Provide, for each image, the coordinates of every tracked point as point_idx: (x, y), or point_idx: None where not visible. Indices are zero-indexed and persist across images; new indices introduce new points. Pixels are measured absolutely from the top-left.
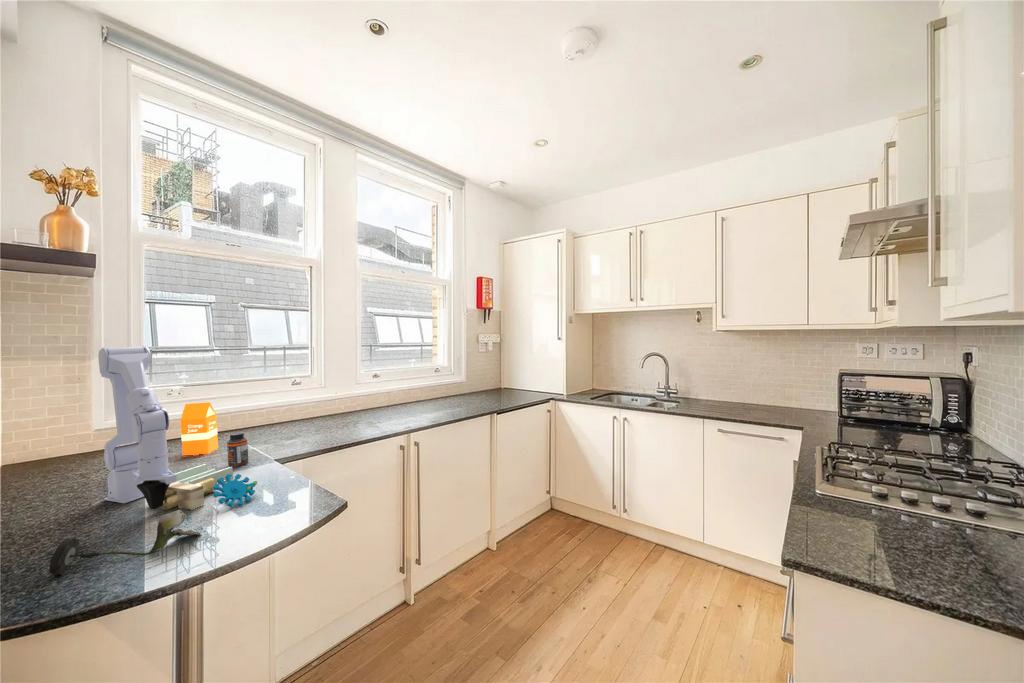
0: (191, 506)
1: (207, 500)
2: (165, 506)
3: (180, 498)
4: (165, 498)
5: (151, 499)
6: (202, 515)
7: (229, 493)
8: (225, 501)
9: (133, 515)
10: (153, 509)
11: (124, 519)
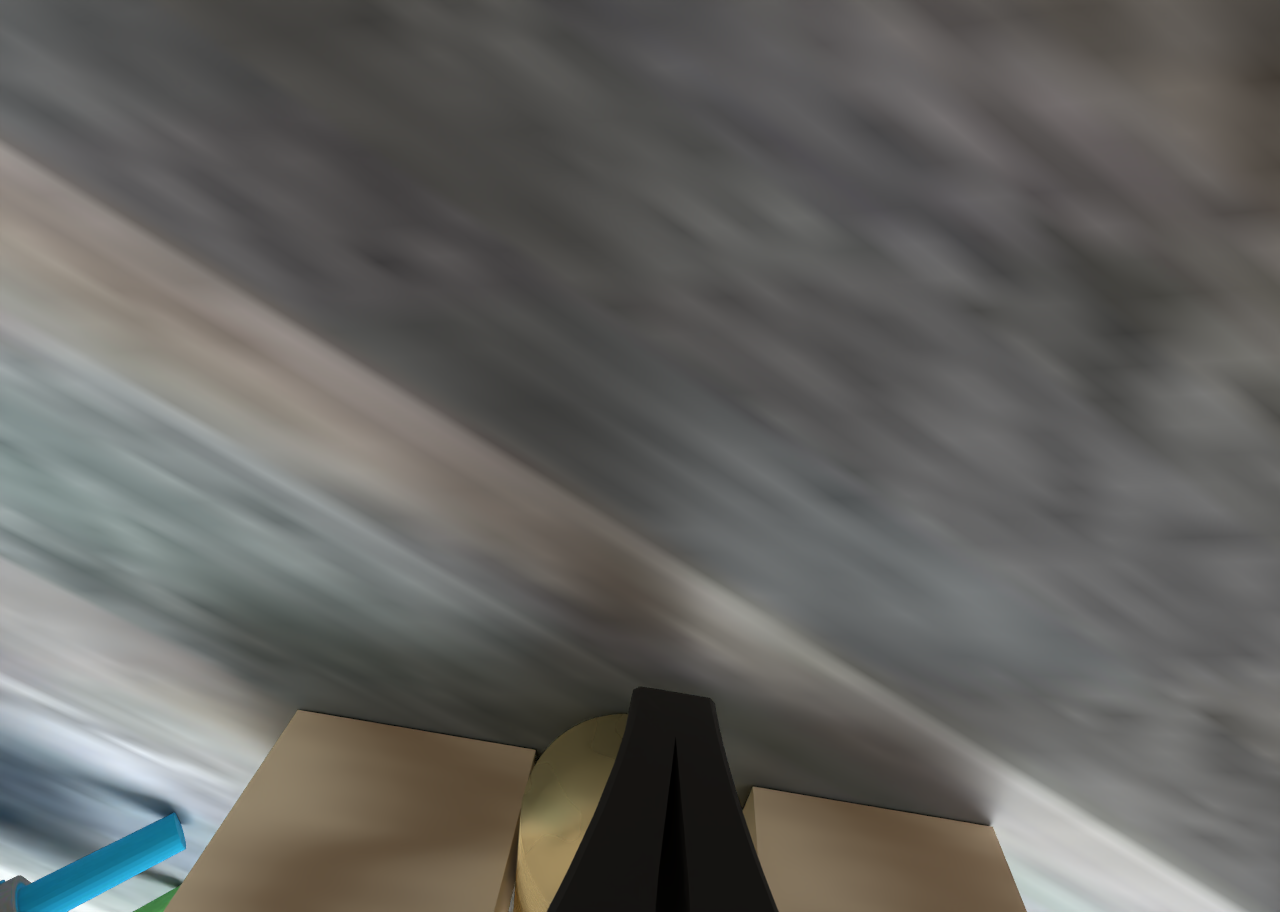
0: (277, 750)
1: None
2: None
3: (442, 871)
4: None
5: (579, 854)
6: (15, 624)
7: None
8: (158, 823)
9: (953, 608)
10: (640, 688)
11: (978, 512)
